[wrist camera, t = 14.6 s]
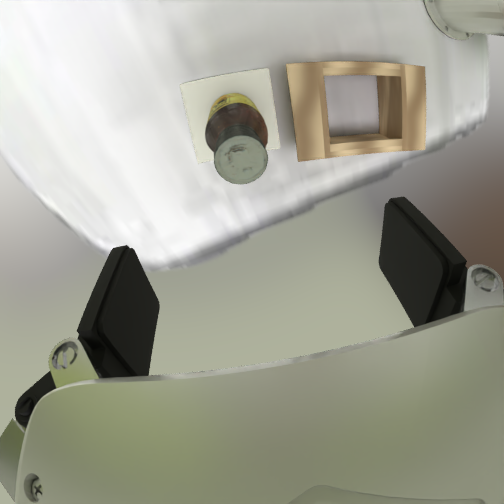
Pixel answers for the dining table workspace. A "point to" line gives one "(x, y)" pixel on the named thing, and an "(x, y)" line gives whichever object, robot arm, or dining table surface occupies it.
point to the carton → (389, 100)
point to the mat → (210, 89)
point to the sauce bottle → (237, 138)
